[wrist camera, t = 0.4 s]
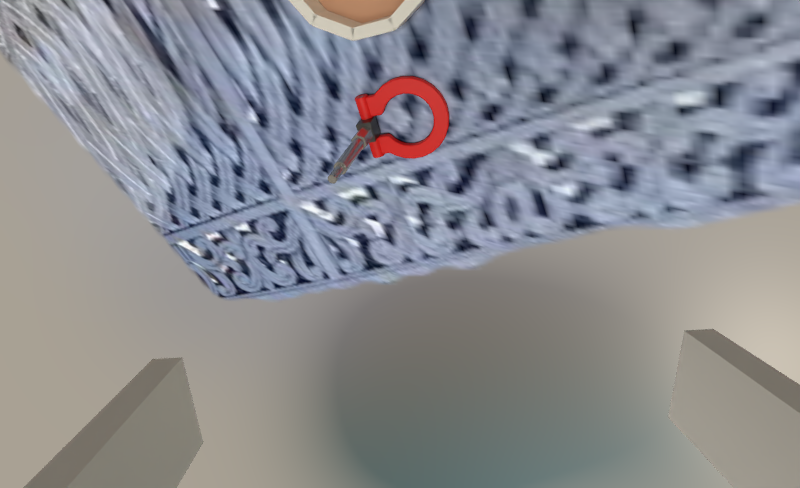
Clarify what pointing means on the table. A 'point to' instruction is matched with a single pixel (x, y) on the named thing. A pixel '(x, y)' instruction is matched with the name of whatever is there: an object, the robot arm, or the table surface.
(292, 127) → the table surface
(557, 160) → the table surface
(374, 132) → the tow hook
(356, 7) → the round tray
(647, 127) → the table surface
